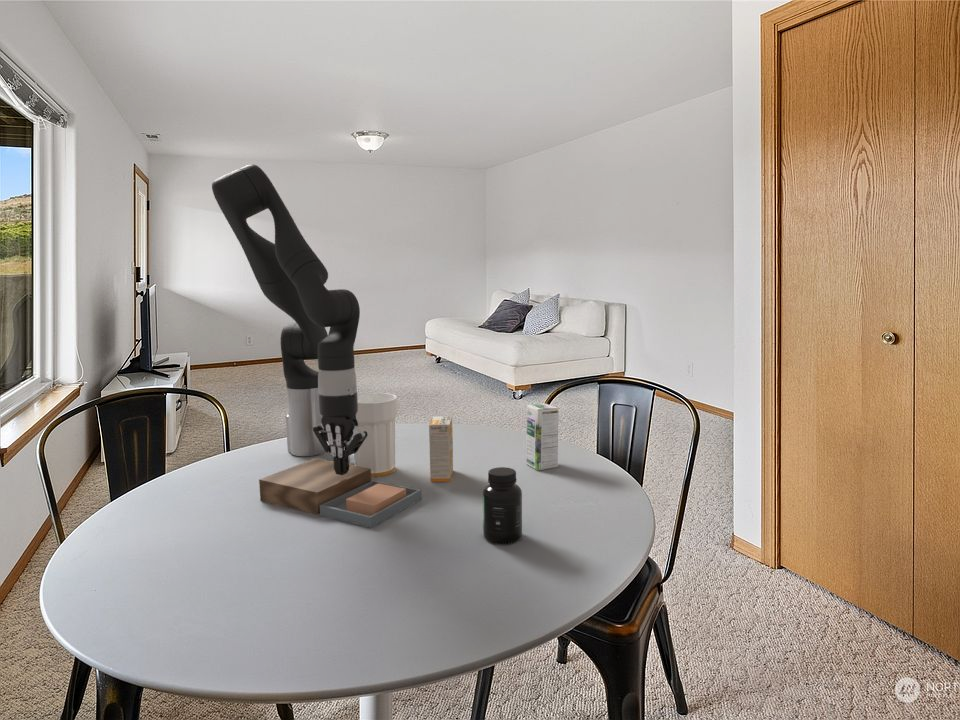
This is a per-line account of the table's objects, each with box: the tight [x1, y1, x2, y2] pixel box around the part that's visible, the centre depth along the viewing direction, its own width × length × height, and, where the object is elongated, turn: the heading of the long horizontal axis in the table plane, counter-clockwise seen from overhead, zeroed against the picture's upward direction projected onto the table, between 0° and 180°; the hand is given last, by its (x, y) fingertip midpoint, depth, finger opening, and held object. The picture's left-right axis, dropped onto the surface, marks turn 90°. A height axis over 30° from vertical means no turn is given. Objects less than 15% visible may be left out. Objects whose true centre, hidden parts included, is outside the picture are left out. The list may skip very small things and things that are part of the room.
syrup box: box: [525, 403, 560, 471], centre depth 150 cm, size 6×6×14 cm
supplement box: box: [428, 415, 454, 483], centre depth 143 cm, size 8×5×13 cm, turn 179°
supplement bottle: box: [482, 466, 523, 545], centre depth 111 cm, size 7×7×12 cm
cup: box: [353, 392, 398, 478], centre depth 148 cm, size 11×11×17 cm
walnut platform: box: [258, 457, 372, 516], centre depth 134 cm, size 16×16×4 cm
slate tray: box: [319, 479, 422, 529], centre depth 127 cm, size 12×16×2 cm
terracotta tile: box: [346, 483, 406, 516], centre depth 126 cm, size 7×10×2 cm
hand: (341, 473), depth 130 cm, fingers closed
